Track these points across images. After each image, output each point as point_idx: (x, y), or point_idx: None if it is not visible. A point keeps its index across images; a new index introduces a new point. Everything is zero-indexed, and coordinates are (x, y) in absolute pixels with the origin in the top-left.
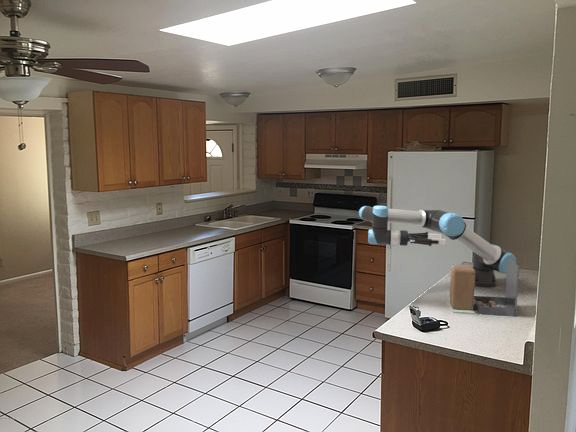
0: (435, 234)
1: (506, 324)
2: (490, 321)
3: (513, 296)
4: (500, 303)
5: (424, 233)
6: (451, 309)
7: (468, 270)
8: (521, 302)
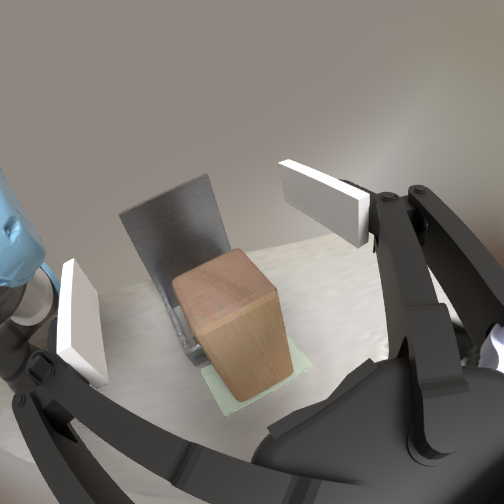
0: (73, 294)
1: (299, 265)
2: (306, 287)
3: (215, 249)
4: (174, 311)
5: (35, 404)
6: (288, 381)
7: (247, 258)
8: (139, 294)
